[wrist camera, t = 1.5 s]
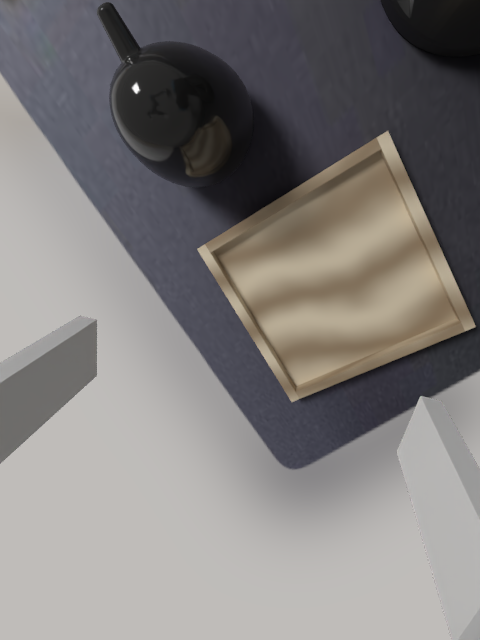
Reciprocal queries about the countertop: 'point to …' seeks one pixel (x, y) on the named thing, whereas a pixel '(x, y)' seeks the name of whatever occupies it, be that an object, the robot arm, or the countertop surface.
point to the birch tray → (340, 273)
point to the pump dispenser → (177, 107)
